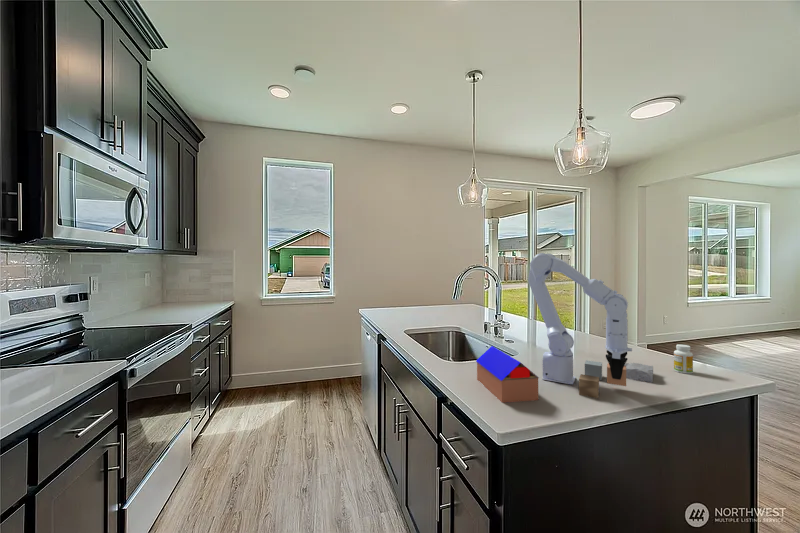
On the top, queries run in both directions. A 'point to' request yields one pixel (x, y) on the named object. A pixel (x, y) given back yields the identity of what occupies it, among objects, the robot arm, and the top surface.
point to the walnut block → (589, 386)
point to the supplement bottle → (683, 359)
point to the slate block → (593, 369)
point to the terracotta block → (616, 381)
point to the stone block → (639, 372)
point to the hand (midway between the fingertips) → (616, 376)
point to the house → (506, 377)
